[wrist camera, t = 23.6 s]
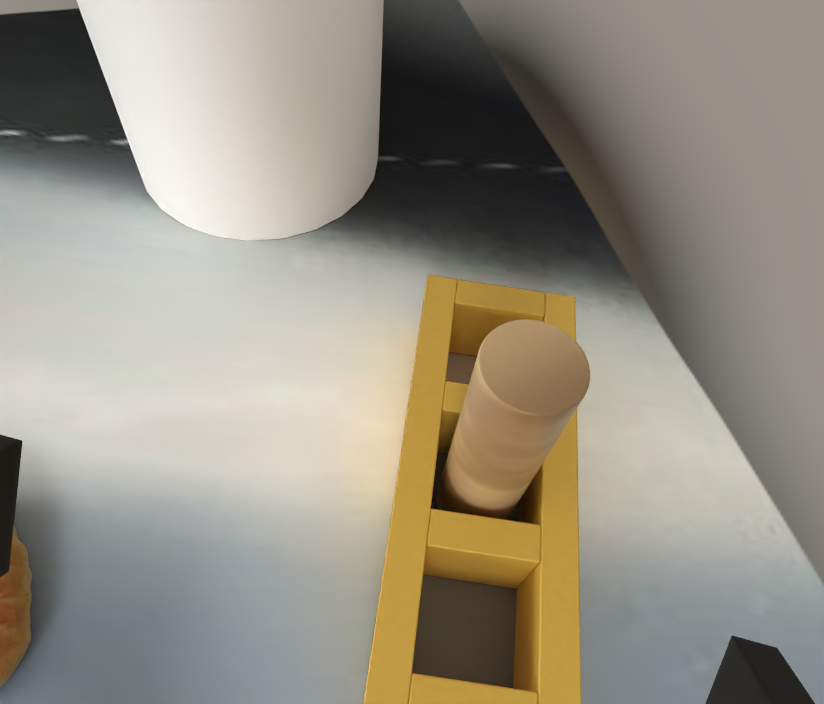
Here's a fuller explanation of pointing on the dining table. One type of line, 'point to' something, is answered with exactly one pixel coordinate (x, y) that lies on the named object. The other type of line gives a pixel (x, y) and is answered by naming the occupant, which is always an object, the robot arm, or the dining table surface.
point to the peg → (511, 416)
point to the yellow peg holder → (479, 520)
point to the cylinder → (246, 106)
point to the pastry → (15, 609)
